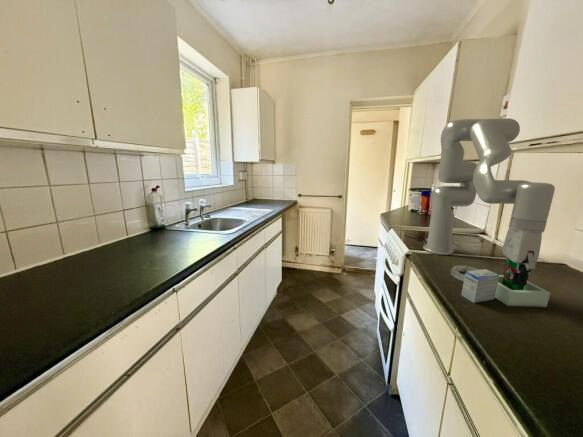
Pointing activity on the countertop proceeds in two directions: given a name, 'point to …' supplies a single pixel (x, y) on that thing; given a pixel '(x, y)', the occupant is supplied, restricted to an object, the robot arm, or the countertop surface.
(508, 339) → the countertop surface
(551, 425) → the countertop surface
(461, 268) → the collar
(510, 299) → the bin
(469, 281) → the medicine box
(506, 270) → the soda can
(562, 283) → the countertop surface
